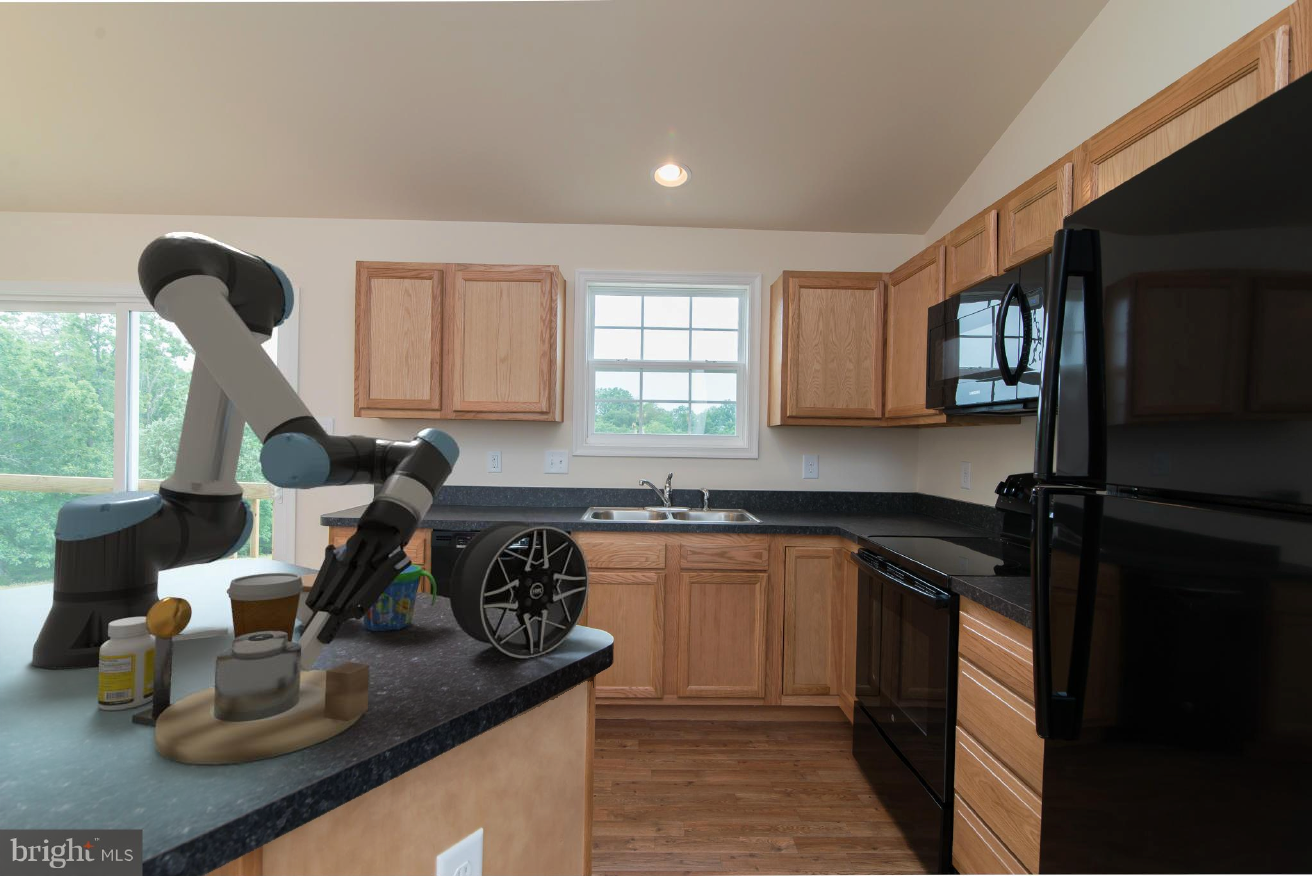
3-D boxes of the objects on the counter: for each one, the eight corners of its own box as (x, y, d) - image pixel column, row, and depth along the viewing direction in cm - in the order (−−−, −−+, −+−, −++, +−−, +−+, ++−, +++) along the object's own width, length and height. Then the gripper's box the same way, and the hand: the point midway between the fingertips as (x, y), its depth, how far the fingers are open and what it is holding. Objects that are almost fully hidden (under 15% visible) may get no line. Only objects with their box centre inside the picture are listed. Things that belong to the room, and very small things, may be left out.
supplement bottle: (145, 690, 77) (148, 612, 77) (164, 700, 74) (168, 619, 75) (89, 704, 73) (93, 622, 73) (107, 716, 70) (111, 629, 70)
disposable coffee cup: (283, 647, 95) (286, 569, 95) (313, 660, 89) (316, 578, 90) (212, 663, 87) (215, 579, 87) (240, 679, 82) (243, 589, 82)
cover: (194, 716, 65) (198, 643, 65) (260, 688, 73) (263, 623, 73) (254, 726, 63) (257, 651, 63) (315, 697, 71) (318, 630, 71)
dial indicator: (127, 724, 68) (133, 600, 68) (188, 700, 74) (193, 587, 75) (169, 731, 66) (175, 605, 67) (227, 706, 73) (232, 591, 73)
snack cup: (440, 617, 113) (441, 562, 114) (429, 633, 103) (430, 573, 103) (351, 620, 111) (352, 563, 111) (329, 637, 100) (331, 575, 101)
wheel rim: (477, 672, 86) (482, 530, 87) (446, 656, 93) (451, 524, 93) (587, 643, 101) (590, 521, 101) (553, 631, 107) (557, 516, 107)
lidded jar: (333, 611, 115) (336, 561, 115) (368, 622, 110) (371, 570, 110) (274, 623, 106) (277, 569, 106) (308, 636, 101) (312, 579, 101)
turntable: (104, 746, 62) (107, 677, 62) (272, 678, 82) (275, 625, 82) (279, 781, 57) (282, 705, 57) (415, 698, 76) (417, 642, 76)
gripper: (444, 532, 91) (358, 686, 74) (369, 527, 94) (272, 674, 77) (423, 499, 86) (326, 656, 69) (345, 495, 89) (235, 644, 72)
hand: (297, 665), depth 73 cm, fingers closed
